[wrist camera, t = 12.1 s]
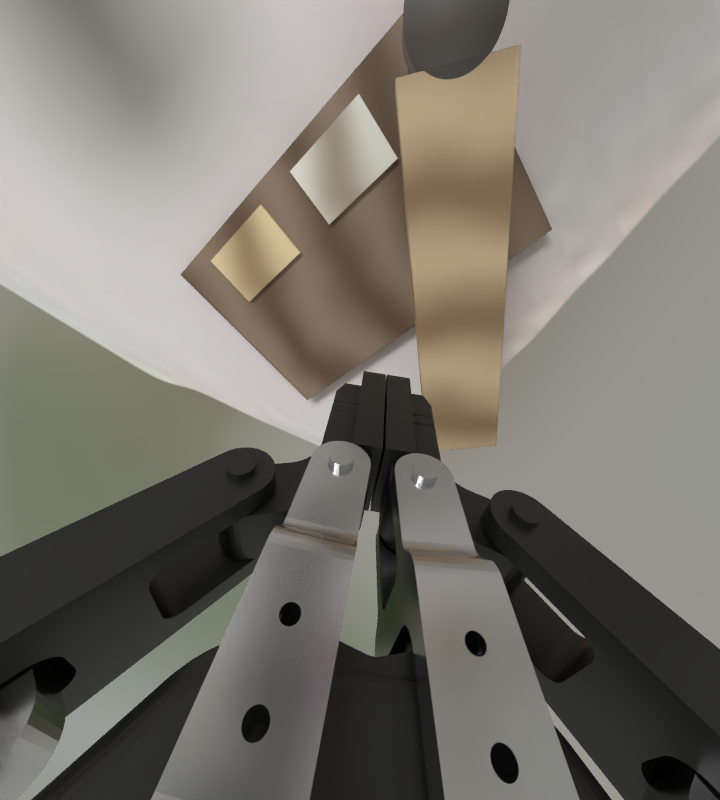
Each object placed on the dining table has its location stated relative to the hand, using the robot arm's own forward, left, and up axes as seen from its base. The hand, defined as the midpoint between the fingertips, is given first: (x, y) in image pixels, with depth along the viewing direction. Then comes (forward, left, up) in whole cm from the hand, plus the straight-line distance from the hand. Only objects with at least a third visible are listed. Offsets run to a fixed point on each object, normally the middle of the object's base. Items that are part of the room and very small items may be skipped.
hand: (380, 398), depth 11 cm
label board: (+1, -3, -18) cm, 19 cm away
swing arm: (-4, +1, -12) cm, 13 cm away
